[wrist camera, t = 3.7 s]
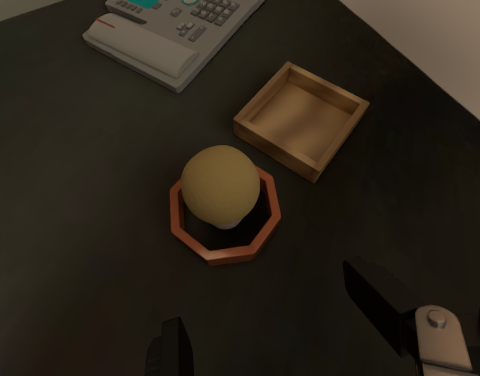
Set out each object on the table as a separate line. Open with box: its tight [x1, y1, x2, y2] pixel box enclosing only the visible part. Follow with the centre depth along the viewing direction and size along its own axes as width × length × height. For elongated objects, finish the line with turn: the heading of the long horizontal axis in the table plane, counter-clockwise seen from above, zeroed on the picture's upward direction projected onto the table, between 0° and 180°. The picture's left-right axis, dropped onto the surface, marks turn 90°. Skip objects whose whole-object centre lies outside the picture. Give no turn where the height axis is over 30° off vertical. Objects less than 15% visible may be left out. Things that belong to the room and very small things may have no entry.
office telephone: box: [83, 0, 265, 94], centre depth 41 cm, size 23×3×20 cm
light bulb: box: [181, 145, 260, 229], centre depth 25 cm, size 6×6×10 cm
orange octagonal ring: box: [170, 165, 281, 266], centre depth 28 cm, size 10×10×3 cm
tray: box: [233, 62, 370, 184], centre depth 33 cm, size 11×11×3 cm
